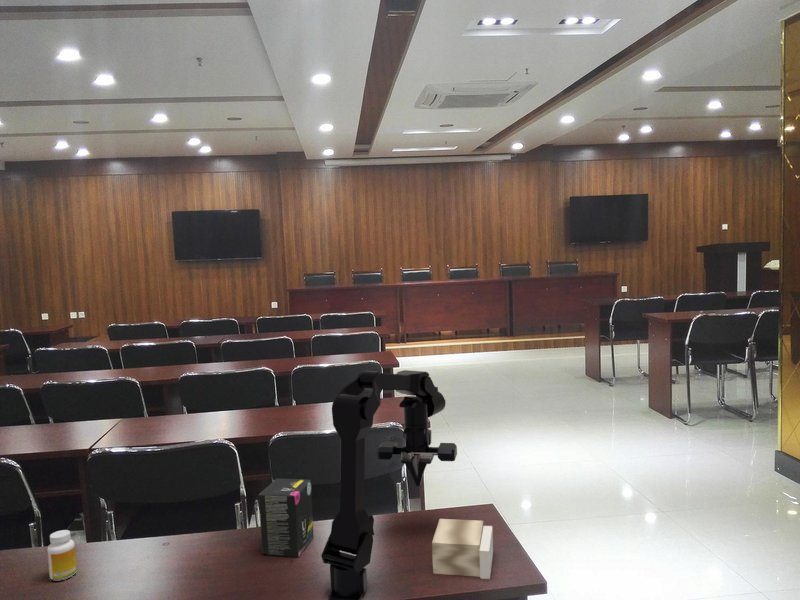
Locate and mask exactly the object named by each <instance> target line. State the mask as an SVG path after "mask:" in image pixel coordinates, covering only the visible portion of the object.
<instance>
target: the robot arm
mask: <svg viewBox="0 0 800 600" xmlns="http://www.w3.org/2000/svg"><path fill="white" fill-rule="evenodd" d="M365 390H366V391H367V390H369V391H372V392H371V394H370V396H367V395H361V394H362V393H363V392H364V391H365ZM383 390H385V391H386V390H387V391H388V390H389V391H395V392H397V393H400V394H403V395H406V396H404V397H403V399H402V401H400V402H399V404H398V405H399V408H403V423H404V424H403V432H402V433H403V435H402V438H403V439H404V446H402V445H401V446H400V445H398V442H397V441H382V443H381V444H380V445H379V446H378V448H377V451H376V454H377V455H376V457H377V459H378V460H385V461H386V460H387V461H388V460H391V459H392V458H393V456H394V455H401V456H400V457H401V459H400V463H401V464H404V465H405V467H406V468H407V470H408V471H409V473H410V475H411V478H412V480H413V481H414V484H415V486H416V487H421V484H422V481H423V477H424V474H425V470H426V467H427V465H430V464H432V462H433V460H434V457H435V456H437V459H439V460H440V461H441V462H455V461H456V458H457V456H458V448H457V446H458V445H456V443H455V442H440V444H439V446H431V444H432V430H431V429H429V418H430V417H433V416H435V415H437V414H439V413H441V412H442V411H444V409H445V407H446V403H447V401H446V399H445V396H444V395H443V394H442V393H441V392H440V391H439V387H438V386H435V385H434V382H433V379H432V378H431V377H430V374H429V372H428V371H421V370H419V371H418V370H408V369H407V370H405V369H404V370H400V371H397V372H396V373H388V372H387V373H386V372H381V371H377V370H363V371H361V372H360V373H359V374H358V376H357V377H356V378H355V379H354V380H352V381H351V382H349V383H348V384H347V385H345V386H344V387H343V388H342V389H341V390H340V392H339V393H338V394H337V396H336V397H335V399H334V400H333V402H332V404H331V418H332V425H333V427H334V429H335V431H336V433H337V435H338V438H339V439H340V448H339V449H340V453H339V454H340V458H339V461H340V463H339V467H340V468H339V510H338V511H337V513H336V514H335V516H334V518H333V520H332V521H331V527H330V534H329V536H328V537H327V541H326V543H325V545H324V548H323V550H322V552H321V555H320V556H321V560H322V562H323V564H325V565H326V564H327V565H329V576H330V579H329V580H330V592H329V594H328V600H362V597H363V595H364V594H365V592H366V591H367V588H368V577H367V576H368V572H367V568H366V567H367V566H368V565H370V562H371V557H372V551H373V545H374V544H373V543H374V536H375V532H374V531H375V530H374V524H375V518H374V516H373V514H369V513H367V511H366V509H365V465H366V464H365V457H366V453H365V451H366V450H365V446H366V445H365V444H366V443H365V440H366V437H367V435H368V433H369V432H370V431H371V429H372V428H373V424H374V415H375V414H376V413H377V410H378V409H379V408H380V406H381V402H382V401H381V400H382V399H381V398H382V397H381V393H382V391H383ZM412 396H413V397H412ZM417 456H419V457H420V458H419V460H418V459H417ZM417 460H418V461H417ZM417 463H418V464H417Z"/></svg>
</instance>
